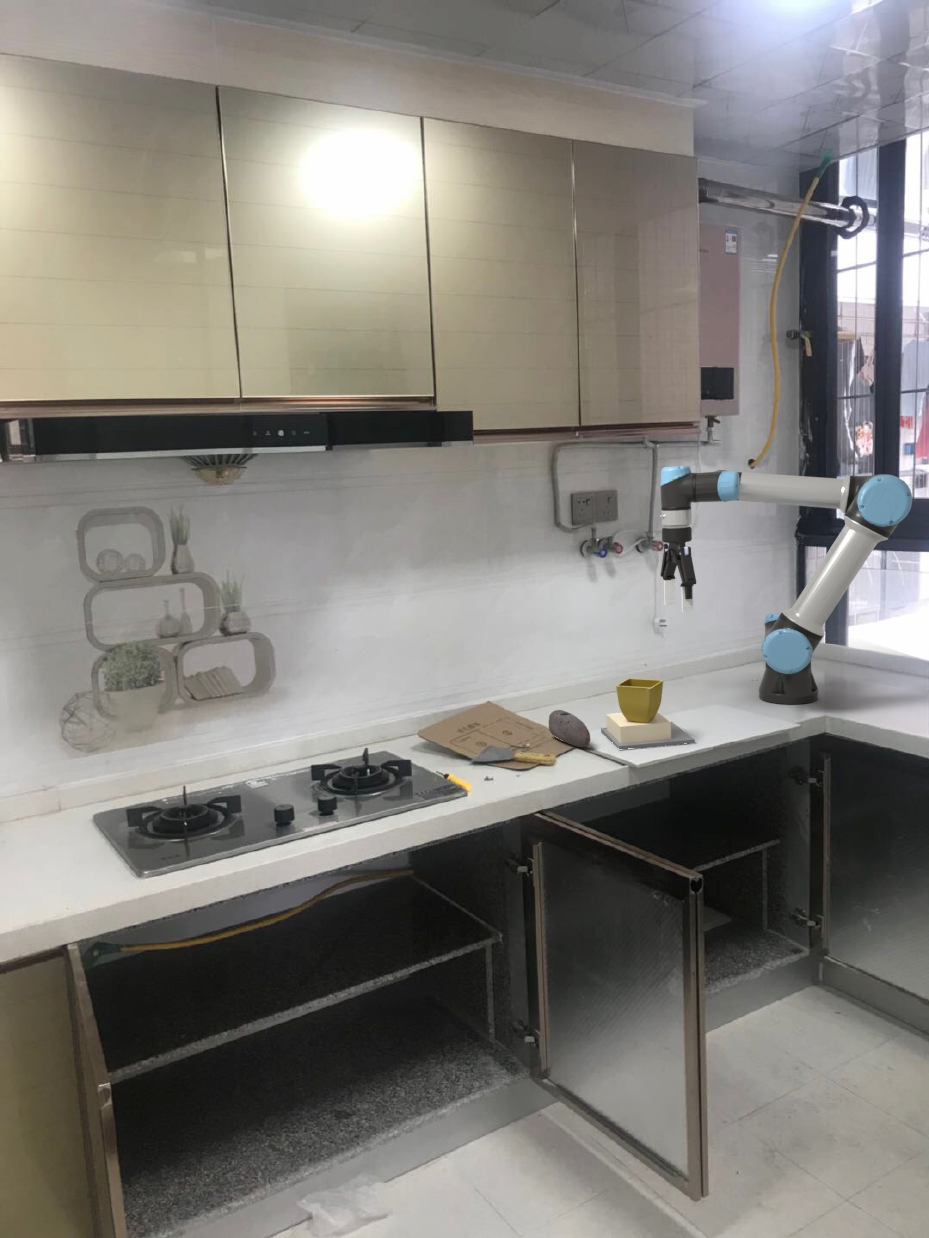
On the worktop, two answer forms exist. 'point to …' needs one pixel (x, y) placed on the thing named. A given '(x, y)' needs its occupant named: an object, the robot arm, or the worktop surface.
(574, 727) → the perforated stone tool
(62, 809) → the worktop surface
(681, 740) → the display base
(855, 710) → the worktop surface
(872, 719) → the worktop surface
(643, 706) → the flower pot
